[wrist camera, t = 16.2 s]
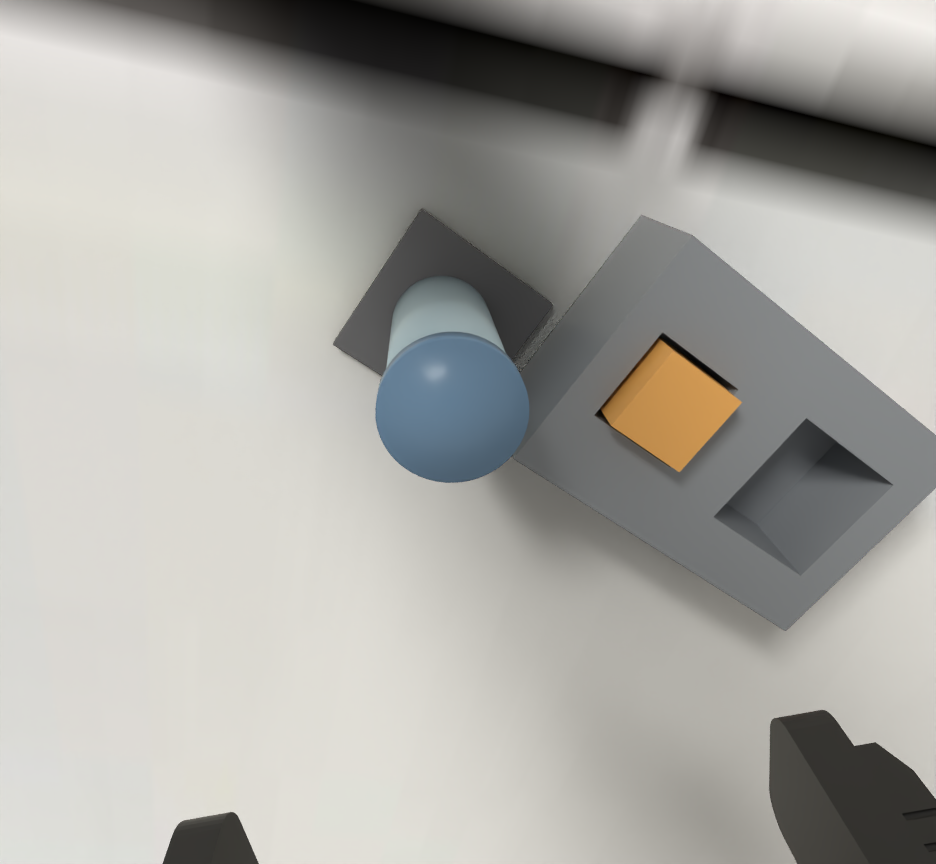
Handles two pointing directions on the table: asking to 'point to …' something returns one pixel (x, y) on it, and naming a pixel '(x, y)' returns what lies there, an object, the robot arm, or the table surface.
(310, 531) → the table surface
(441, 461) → the cartridge
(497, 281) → the mat
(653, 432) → the orange rectangular block
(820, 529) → the housing
